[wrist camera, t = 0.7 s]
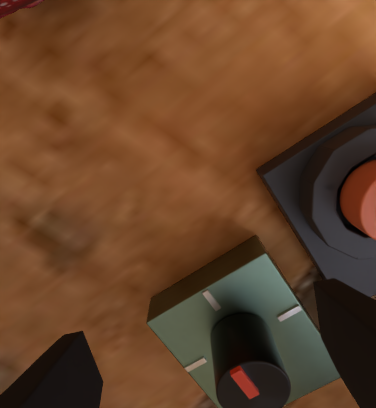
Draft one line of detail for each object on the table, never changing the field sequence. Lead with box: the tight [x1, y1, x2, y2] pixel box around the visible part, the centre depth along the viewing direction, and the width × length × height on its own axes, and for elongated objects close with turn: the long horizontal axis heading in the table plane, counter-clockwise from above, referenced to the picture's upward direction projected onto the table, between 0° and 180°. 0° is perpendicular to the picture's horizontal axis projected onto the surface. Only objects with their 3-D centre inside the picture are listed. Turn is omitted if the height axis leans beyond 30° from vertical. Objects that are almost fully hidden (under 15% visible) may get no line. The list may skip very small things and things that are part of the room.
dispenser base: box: [256, 93, 376, 297], centre depth 17 cm, size 10×8×4 cm
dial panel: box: [146, 235, 340, 408], centre depth 20 cm, size 10×8×3 cm
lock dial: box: [211, 314, 291, 408], centre depth 17 cm, size 4×4×4 cm
